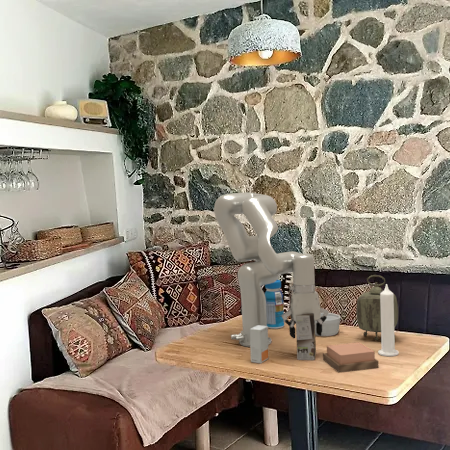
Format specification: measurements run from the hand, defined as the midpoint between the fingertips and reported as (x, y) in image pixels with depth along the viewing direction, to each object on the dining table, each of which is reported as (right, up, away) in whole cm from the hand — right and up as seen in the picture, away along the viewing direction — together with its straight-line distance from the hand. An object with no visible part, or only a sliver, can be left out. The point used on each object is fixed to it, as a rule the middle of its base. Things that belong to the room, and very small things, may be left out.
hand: (306, 336), depth 213 cm
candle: (+29, -6, -1) cm, 30 cm away
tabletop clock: (+30, -5, +18) cm, 35 cm away
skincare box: (-16, -9, -2) cm, 19 cm away
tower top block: (+14, -5, -10) cm, 18 cm away
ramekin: (+12, -5, +30) cm, 33 cm away
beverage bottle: (-7, -4, +44) cm, 45 cm away
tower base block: (+14, -8, -10) cm, 19 cm away
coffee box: (0, -8, +1) cm, 8 cm away
